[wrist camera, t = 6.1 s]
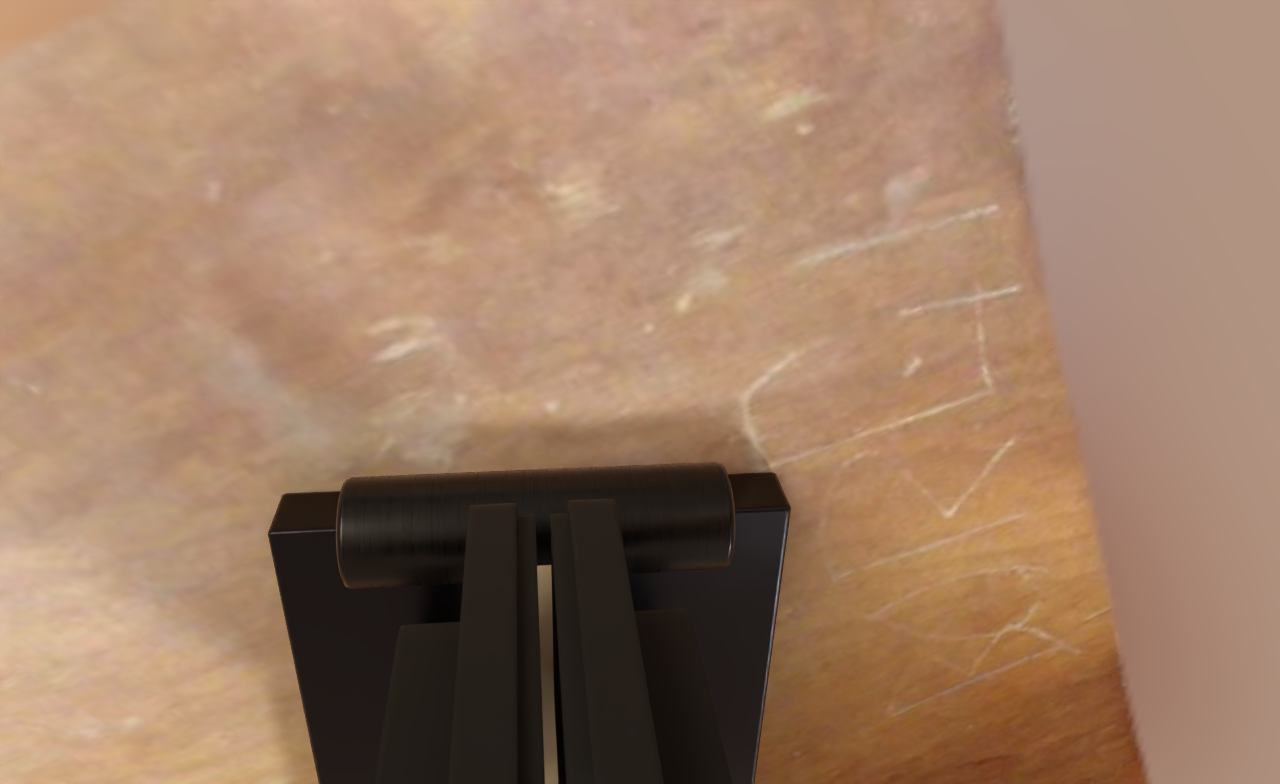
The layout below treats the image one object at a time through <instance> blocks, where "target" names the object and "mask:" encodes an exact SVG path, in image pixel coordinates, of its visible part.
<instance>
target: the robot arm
mask: <svg viewBox="0 0 1280 784" xmlns="http://www.w3.org/2000/svg"><path fill="white" fill-rule="evenodd" d="M550 527H551V575H552V623H553V671H554V705H555V726H556V746H557V765H558V784H732V780H731V776H730V772H729V768H728V764H727V760H726V756H725V752H724V748H723V744H722V739H721V735H720V731H719V727H718V723H717V719H716V715H715V711H714V707H713V703H712V699H711V695H710V691H709V687H708V683H707V679H706V675H705V671H704V667H703V663H702V659H701V655H700V651H699V647H698V643H697V639H696V635H695V631H694V627H693V623H692V620H691V616H690V613H689V611H688V610H687V608H676V609H659V610H643V611H634V606H633V600H632V594H631V589H630V583H629V577H628V571H627V565H626V559H625V553H624V547H623V542H622V536H621V530H620V524H619V518H618V512H617V506H616V502H615V499H592V500H570V501H568V513H559V514H550ZM374 784H545V769H544V741H543V714H542V686H541V658H540V630H539V603H538V575H537V547H536V520H535V515H517V504H516V503H504V504H483V505H469V509H468V521H467V535H466V548H465V562H464V576H463V589H462V603H461V616H460V622H446V623H430V624H413V625H401V627H400V629H399V633H398V637H397V642H396V649H395V655H394V661H393V668H392V674H391V680H390V687H389V693H388V699H387V706H386V712H385V719H384V725H383V731H382V738H381V744H380V750H379V757H378V763H377V769H376V776H375V782H374Z"/></svg>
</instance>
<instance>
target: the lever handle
mask: <svg viewBox="0 0 1280 784" xmlns="http://www.w3.org/2000/svg"><path fill="white" fill-rule="evenodd" d="M592 499H615V502H616V506H617V512H618V518H619V524H620V530H621V536H622V542H623V547H624V553H625V559H626V565H627V571H628V574H639V573H656V572H674V571H692V570H710V569H723V568H725V567H727V566H728V565H729V564H730V562H731V558H732V555H733V550H734V543H735V511H734V501H733V494H732V488H731V484H730V480H729V477H728V475H727V472H726V470H725V468H724V466H723V465H722V464H720V463H717V462H705V463H681V464H657V465H634V466H610V467H586V468H562V469H538V470H514V471H491V472H467V473H443V474H419V475H395V476H371V477H352V478H350V479H348V480H346V481H345V482H344V484H343V486H342V489H341V492H340V496H339V500H338V507H337V517H336V549H337V560H338V566H339V571H340V575H341V578H342V580H343V583H344V585H345V586H346V587H347V588H350V589H353V590H355V589H373V588H391V587H408V586H426V585H444V584H461V583H463V576H464V562H465V548H466V535H467V521H468V509H469V505H483V504H504V503H516V504H517V515H535V520H536V547H537V575H538V603H539V630H540V658H541V686H542V714H543V741H544V769H545V784H558V765H557V746H556V726H555V705H554V671H553V623H552V575H551V527H550V514H559V513H568V501H570V500H592Z"/></svg>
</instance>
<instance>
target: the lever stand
mask: <svg viewBox="0 0 1280 784" xmlns="http://www.w3.org/2000/svg"><path fill="white" fill-rule="evenodd" d="M727 475H728V477H729V480H730V484H731V488H732V494H733V501H734V511H735V543H734V550H733V555H732V558H731V562H730V564H729V565H728V566H727V567H725V568H723V569H710V570H692V571H674V572H656V573H639V574H628V577H629V583H630V589H631V594H632V600H633V606H634V611H643V610H659V609H676V608H687V610H688V611H689V613H690V616H691V620H692V623H693V627H694V631H695V635H696V639H697V643H698V647H699V651H700V655H701V659H702V663H703V667H704V671H705V675H706V679H707V683H708V687H709V691H710V695H711V699H712V703H713V707H714V711H715V715H716V719H717V723H718V727H719V731H720V735H721V739H722V744H723V748H724V752H725V756H726V760H727V764H728V768H729V772H730V776H731V780H732V784H754V781H755V773H756V766H757V758H758V751H759V743H760V736H761V728H762V721H763V713H764V706H765V698H766V691H767V684H768V676H769V669H770V661H771V654H772V646H773V639H774V631H775V624H776V616H777V609H778V601H779V594H780V586H781V579H782V571H783V564H784V556H785V549H786V541H787V534H788V526H789V519H790V511H791V508H790V505H789V503H788V501H787V498H786V496H785V494H784V492H783V489H782V487H781V485H780V483H779V481H778V478H777V476H776V474H775V473H772V472H768V473H745V474H727ZM340 492H341V491H333V492H310V493H287V494H284V495H283V496H282V498H281V500H280V503H279V505H278V508H277V511H276V513H275V516H274V519H273V521H272V524H271V526H270V529H269V532H268V537H269V542H270V547H271V552H272V557H273V562H274V567H275V572H276V577H277V581H278V586H279V591H280V596H281V601H282V606H283V611H284V616H285V620H286V625H287V630H288V635H289V640H290V645H291V650H292V655H293V660H294V664H295V669H296V674H297V679H298V684H299V689H300V694H301V699H302V703H303V708H304V713H305V718H306V723H307V728H308V733H309V738H310V743H311V747H312V752H313V757H314V762H315V767H316V772H317V777H318V782H319V784H374V782H375V776H376V769H377V763H378V757H379V750H380V744H381V738H382V731H383V725H384V719H385V712H386V706H387V699H388V693H389V687H390V680H391V674H392V668H393V661H394V655H395V649H396V642H397V637H398V633H399V629H400V627H401V625H413V624H430V623H446V622H460V616H461V603H462V589H463V583H461V584H444V585H426V586H408V587H391V588H373V589H355V590H353V589H350V588H347V587H346V586H345V585H344V583H343V580H342V578H341V575H340V571H339V566H338V560H337V549H336V517H337V507H338V500H339V496H340Z"/></svg>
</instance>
